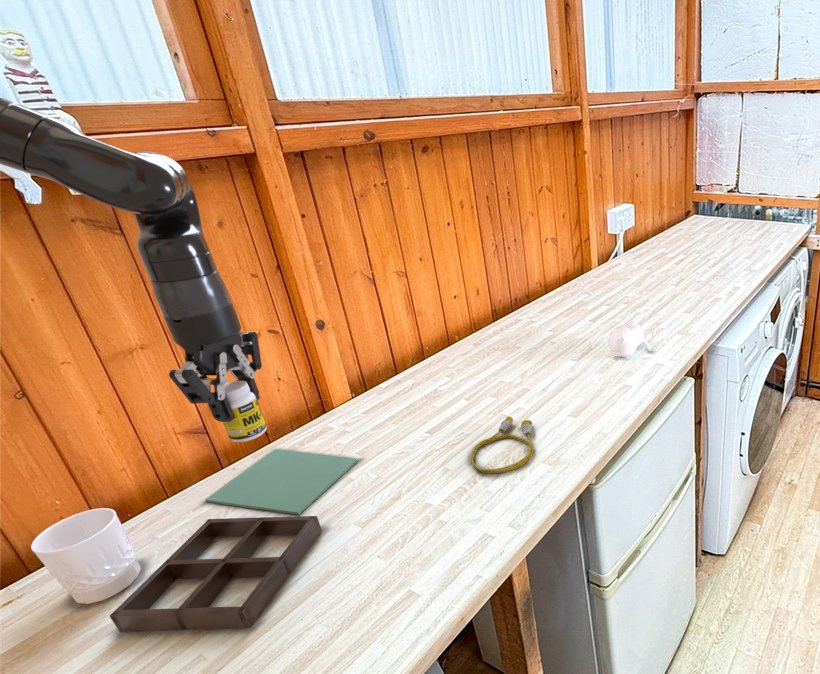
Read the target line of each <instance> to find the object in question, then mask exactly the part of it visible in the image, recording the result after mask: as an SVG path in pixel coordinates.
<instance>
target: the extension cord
mask: <svg viewBox="0 0 820 674" xmlns="http://www.w3.org/2000/svg"><path fill="white" fill-rule="evenodd" d="M513 422H514V419H513V417H512V416H510V415H509V416H507V417H505V419H503V421H501V423H500V426H499V429H498V432H497V433H494V435H492V436H491V437H489V438H486V439H484V440H481V441H480V442H478V443H477V444H476V445H475V446H474V447H473V449H472V451H471V454H470V464H471V465H472V466H473V467H474V468H475V469H476V470H477V471H479V472H481V473H484V474H502V473H506V472H509V471H513V470H515V469H517V468H520V467H522V466H524V465H525V464H526V463H527V462H528V460H530V459H531V457H532V456H533V453H534V447H533V445H532V441H531V436H532V432H533V429H532V428H533V427H532V425H533V422H532V420H530V419H529V420H528V419H524V420H523V421H522V422H521V424H520V427H521V431H522V432H523V434H524V436H525V437H526V438H527V439H525V438H523V437H520V436H517V435H513V434H504V433H505V432H506V431H508V430H510V428H511V426H512V424H513ZM499 434H500V435H499ZM502 439H514V440H517V441H520V442H521V443H524V444H526V445H527V446H528V448H529V449H528V450H529V451H528V453H527V454H526V456H525V457H523V458H522V459H520V460H517V461H516V462H514V463H512V464H509V465H506V466H504V467H499V468H491V469H488V468H487V469H486V468H481V467H480V466H477V465H476V464H475V462H474V457H475V455H476V452H477V450H478V449H479V448H480V447H481V446H483V445H486V444H488V443H491V442H495V441H498V440H502Z"/></svg>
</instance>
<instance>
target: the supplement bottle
mask: <svg viewBox="0 0 820 674" xmlns="http://www.w3.org/2000/svg"><path fill="white" fill-rule="evenodd" d="M224 388H225V398H227V399H228V401H229V403H230V406H231V408H232V411H233V413H234V416H235V418H234V419H233V420H232V421H230V422H222V423H223V427H224V428H225V431H226V434H227V436H228V438H229V440H230V441H231V442H234V443H243V442H245V443H246V442H249V441H252V440H254V439H257V438H259V437H261V436H262V435H263V434H265V432H267V428H268V427H267V424H266V420H265V418H264V416H263V415H264V414H263V413H262V410H261V407H260V405H259V402H258V400H257V399H256V396H255V395H254V393H252V392H250V388H249V386H248V384H247V382H246V381H237V380H235V381H230V382H226V383H225V384H224ZM213 392H215V391H214V390H213Z"/></svg>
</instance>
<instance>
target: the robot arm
mask: <svg viewBox="0 0 820 674" xmlns="http://www.w3.org/2000/svg"><path fill="white" fill-rule="evenodd" d="M0 165H1V166H5V167H8V168H11V169H14V170H17V171H20V172H23V173H26V174H29V175H33V176H36V177H39V178H43V179H45V180H46V179H47V180H50V181H53V182H54V183H57V184H59V185H61V186H63V187H64V188H67V189H69V190H70V191H71V190H72V191H74V192H76V193H78V194H80V195H82V196H84V197H87V198H89V199H92V200H93V201H96V202H98V203H101V204H103V205H106V206H108V207H111V208H114V209H117V210H120V211H124V212H128V213H132V214H134V217H135V221H136V223H137V227H138V230H139V231H138V232H139V233H138V236H137V240H136V247H137V251H138V254H139V257H140V260H141V261H142V265H143V266H144V269H145V272H146V273H147V275H148V279H149V280H150V283H151V287H152V291H153V294H154V298H155V300H156V303H157V305H158V308H159V309H160V310H159V311H161V315H162V316H163V318H164V321H165V323H166V326H167V328H168V330H169V333H170V335H171V337H172V340H173V342H174V343H175V344H176V345H178V346H179V347H181V349H183V351H184V361H185V363H184V364H183V365H181V367H180V368H178V369H171V370H170V371H169V372H168V376H169V378H170V379H171V380H172V382H173V383H174V384H175V385H176V387H177V388H178V389H179V390H180V392H181V393H182V394H183V395H184V397H185V398H187V400H188V401H189V403H190V404H192V405H193V404H196V405H197V404H207V405H208V408H209V410H210V412H211V414H212V417H213V419H215V421H217V422H219V423H223V422H230V421H232V420H233V419H234V418H235V416H234V413H233V411H232V408H231V406H230V403H229V401H228V399H227V398H225V388H224V384H226V383H228V373H229V374H230V375H231V376H232V377H233V379H235V380H236V381H246V382H247V384H248V386H249V388H250V392H252V393H254V395H255V396H256V399H257V401H259V400H260V399H261V397H260V391H259V388H258V386H257V383H256V380H255V378H256V372H257V371H258V370H259V371H260V370H261V369H262V367H263V364H262V358H261V350H260V344H259V337H258V333H257V332H256V331H241V330H242V325H241V323H240V320H239V317H238V314H237V312H236V308H235V306H234V304H233V301H232V297H231V296H230V293H229V290H228V288H227V285H226V283H225V281H224V279H223V278H222V276H221V274H220V272H219V269H218V267H217V265H216V262H215V259H214V256H213V254H212V251H211V249H210V246H209V243H208V241H207V240H206V237H205V235H204V231H203V226H202V225H203V224H202V219H201V214H200V210H199V205H198V201H197V196H196V192H195V190H194V186H193V184H192V182H191V179H190V177H189V176H188V173H187V172H186V170H185V169H184V168H183V167H182V166H181V165H180V164H179V163H178V162H177V161H175V160H174V159H172V158H171V157H169V156H167V155H165V154H163V153H159V152H155V151H154V152H153V151H138V152H130V151H126V150H123V149H120V148H118V147H115V146H114V145H113V146H112V145H110V144H107V143H105V142H102V141H99V140H97V139H94V138H92V137H90V136H87V135H86V134H85V132H83V130H81V129H79V128H78V127H76V126H74V125H72V124H70V123H68V122H66V121H64V120H61V119H58V118H56V117H53V116H51V115H48V114H46V113H43V112H40V111H38V110H35V109H32V108H30V107H28V106H25V105H22V104H18V103H17V102H13V101H12V100H8V99H5V98H3V97H0ZM249 356H251V361H250V360H249ZM208 376H210V377H208ZM211 376H212V377H211ZM213 376H215V377H213ZM212 386H213V391H212ZM214 391H215V392H214Z"/></svg>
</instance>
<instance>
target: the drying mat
mask: <svg viewBox="0 0 820 674" xmlns="http://www.w3.org/2000/svg"><path fill="white" fill-rule="evenodd" d="M358 462H359V459H358V458H353V457H346V456H345V457H344V456H337V455H336V456H335V455H328V454H319V453H311V452H301V451H293V450H287V449H285V450H284V449H276V448H274V449H273V450H271V451H270V452H269V453H267V454H265V456H263V457H262V458H261V459H259V460H258V461H256V462H254V463H253V464H252V465H250V466H249V467H248V468H247V469H245V470H244V471H242V472H241V473H240V474H239V475H237V476H235V477H234V478H233V479H231V480H230V481H229V482H227V483H226V484H225V485H223V486H222V487H221V488H219V489H217V490H216V491H215V492H214V493H212V494H211V495H209V496H208V497H207V498H205V502H206V503H213V504H220V505H227V506H234V507H240V508H241V507H242V508H247V509H254V510H261V511H262V510H263V511H268V512H276V513H282V514H290V515H296V516H298V515H299V516H300V515H301V514H302V513H303V511H305V510H306V509H307V508H308V507H309V506H310V505H311V504H313V503H314V502H315V501H316V500H317V499H318V498H319V497H320V496H321V495H323V493H325V492H326V491H327V490H328V489H330V487H332V486H333V484H335V483H336V482H337V481H338V480H339V479H340V478H341V477H342V476H343V475H344V474H346V473H347V472H348V471H349V470H350V469H351V468H353V466H355V465H356V463H358Z"/></svg>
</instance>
